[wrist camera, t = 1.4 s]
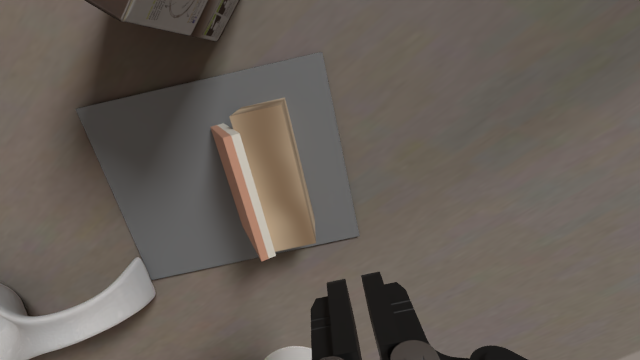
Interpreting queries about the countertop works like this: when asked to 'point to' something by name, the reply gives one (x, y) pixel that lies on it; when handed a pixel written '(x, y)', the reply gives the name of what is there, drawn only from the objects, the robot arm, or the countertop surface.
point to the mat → (213, 162)
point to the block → (277, 172)
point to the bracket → (291, 353)
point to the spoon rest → (71, 316)
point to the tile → (243, 189)
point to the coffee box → (173, 14)
